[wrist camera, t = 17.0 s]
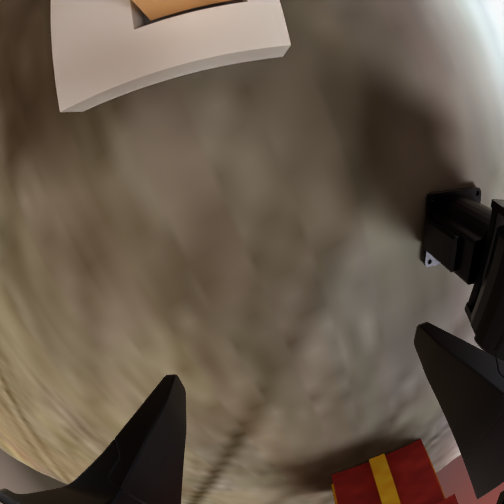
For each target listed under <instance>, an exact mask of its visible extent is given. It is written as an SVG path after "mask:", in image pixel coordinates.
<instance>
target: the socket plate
mask: <svg viewBox="0 0 504 504" xmlns="http://www.w3.org/2000/svg"><path fill="white" fill-rule="evenodd" d="M51 40H52V55H53V66H54V75H55V83H56V90H57V97H58V103H59V109H60V112H84V111H86V110H88V109H90V108H92V107H95V106H97V105H99V104H102V103H104V102H106V101H109V100H111V99H114V98H116V97H119V96H122V95H124V94H127V93H130V92H132V91H135V90H138V89H141V88H144V87H147V86H150V85H153V84H156V83H159V82H162V81H166V80H169V79H172V78H176V77H180V76H183V75H187V74H191V73H195V72H199V71H203V70H207V69H212V68H216V67H221V66H226V65H231V64H237V63H243V62H249V61H255V60H262V59H269V58H278V57H283V56H284V55H285V53H286V52H287V50H288V49H289V47H290V46H291V43H290V39H289V35H288V31H287V27H286V23H285V19H284V15H283V11H282V7H281V4H280V0H231V1H225V2H220V3H215V4H210V5H205V6H201V7H196V8H192V9H188V10H185V11H181V12H177V13H174V14H170V15H167V16H164V17H160V18H157V19H154V20H150V19H149V18H148V17H147V16H146V15H145V14H144V13H143V12H142V11H141V9H140V8H139V7H138V6H137V5H136V4H135V3H134V2H133V1H132V0H51Z"/></svg>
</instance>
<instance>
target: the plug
mask: <svg viewBox="0 0 504 504" xmlns="http://www.w3.org/2000/svg"><path fill="white" fill-rule="evenodd" d="M132 1H133V2H134V3H135V4H136V5H137V6H138V7H139V8H140V9H141V11H142V12H143V13H144V14H145V15H146V16H147V17H148V18H149V19H150V20H154V19H157V18H160V17H164V16H167V15H170V14H174V13H177V12H181V11H185V10H188V9H192V8H196V7H201V6H205V5H210V4H215V3H220V2H225V1H231V0H132Z"/></svg>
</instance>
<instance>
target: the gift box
mask: <svg viewBox="0 0 504 504" xmlns="http://www.w3.org/2000/svg"><path fill="white" fill-rule="evenodd" d="M331 476H332V480H333V484H331V486H332V491H333V496H334V501H335V504H458V502H457V499H456V497H455V494H453V495H452V496H450V497H448V498H446V499H445V496H444V493H443V491H442V488H441V485H440V483H439V480H438V478H437V475H436V473H435V470H434V468H433V465H432V463H431V461H430V458H429V456H428V453H427V451H426V449H425V447H424V445H423V443H422V441H421V439H419V440H417V441H415V442H413V443H411V444H409V445H407V446H405V447H403V448H401V449H398V450H396V451H394V452H392V453H389V454H387V455H385V454H381V455H379V456H377V457H374V458H371V459H369V462H367V463H364V464H362V465H359V466H356V467H353V468H350V469H347V470H344V471H341V472H338V473H335V474H332V475H331Z"/></svg>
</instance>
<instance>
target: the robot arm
mask: <svg viewBox="0 0 504 504" xmlns="http://www.w3.org/2000/svg"><path fill="white" fill-rule="evenodd" d="M432 198H433V201H431V200H432ZM480 201H481V190H480V188H478V187H469V188H461V189H453V190H446V191H439V192H432V193H429V194H428V195H427V198H426V222H425V238H424V256H423V263H424V265H425V266H427V267H431V266H434V265H438V264H442V265H443V266H444V267H446V268H447V269H448V270H449V271H450V272H454V273H456V274H457V275H458V276H459V277H460V278H461V279H462V280H463V281H465V282H466V283H467V284H468V285H470V284H474V286H473V289H472V292H471V295H470V298H469V301H468V302H467V304H466V306H465V312H466V314H467V316H468V318H469V321H470V323H471V326H472V328H473V331H474V333H475V337H474V339H475V341H476V343H477V344H478V345H479V347H480V348H481V349H482V350H481V349H479V348H477V347H475V346H473V345H471V344H469V343H467V342H465V341H464V340H462V339H460V338H458V337H456V336H454V335H452V334H450V333H448V332H446V331H444V330H442V329H440V328H438V327H436V326H434V325H432V324H430V323H428V322H425V323H422V324H419V325H418V326H417V329H416V334H415V338H414V345H415V348H416V351H417V353H418V356H419V358H420V361H421V364H422V366H423V369H424V372H425V374H426V377H427V379H428V381H429V383H430V385H431V387H432V389H433V391H434V393H435V395H436V398H437V400H438V402H439V404H440V406H441V408H442V410H443V413H444V415H445V417H446V419H447V421H448V424H449V426H450V428H451V431H452V433H453V435H454V438H455V440H456V443H457V445H458V447H459V450H460V452H461V455H462V457H463V461H464V463H465V466H466V469H467V471H468V474H469V477H470V480H471V482H472V485H473V489H474V492H475V494H476V497H477V499H479V498H481V497H482V496H484V495H485V494H487V493H488V492H490V491H491V490H493V489H494V488H496V487H497V486H499V485H500V484H501V483H502V482H504V200H498V199H492V203H491V208H492V209H491V208H489V207H487V206H485V205H483V204H481V203H480ZM429 259H430V260H429ZM428 260H429V262H428ZM185 439H186V392H185V388H184V386H183V384H182V383H181V381H180V379H179V377H178V376H177V375H175V374H174V375H166V376H165V377H164V378H163V379H162V380H161V382H160V383H159V384H158V385H157V387H156V388H155V389H154V390H153V392H152V393H151V394H150V395H149V397H148V398H147V399H146V400H145V402H144V403H143V404H142V405H141V407H140V408H139V409H138V410H137V412H136V413H135V414H134V415H133V416H132V418H131V419H130V420H129V421H128V423H127V424H126V425H125V426H124V428H123V429H122V430H121V431H120V432H119V434H118V435H117V436H116V437H115V440H113V441H112V442H111V443H110V445H109V446H108V447H107V448H106V449H105V450H104V452H103V453H102V454H101V455H100V456H99V457H98V458H97V459H96V460H95V461H94V462H93V463H92V464H91V465H90V466H89V467H88V468H87V469H86V470H85V471H84V472H83V473H82V474H81V475H80V476H79V477H78V478H77V479H75V480H74V481H73V482H72V483H70V484H68V485H67V486H64V487H61V488H56V489H52V490H46V491H41V492H36V493H29V494H15V493H13V492H11V491H9V490H8V489H1V490H0V502H1V503H3V504H181V492H182V477H183V463H184V451H185ZM497 504H504V490H503V491H502V492H501V493H500V495H499V498H498V501H497Z"/></svg>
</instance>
